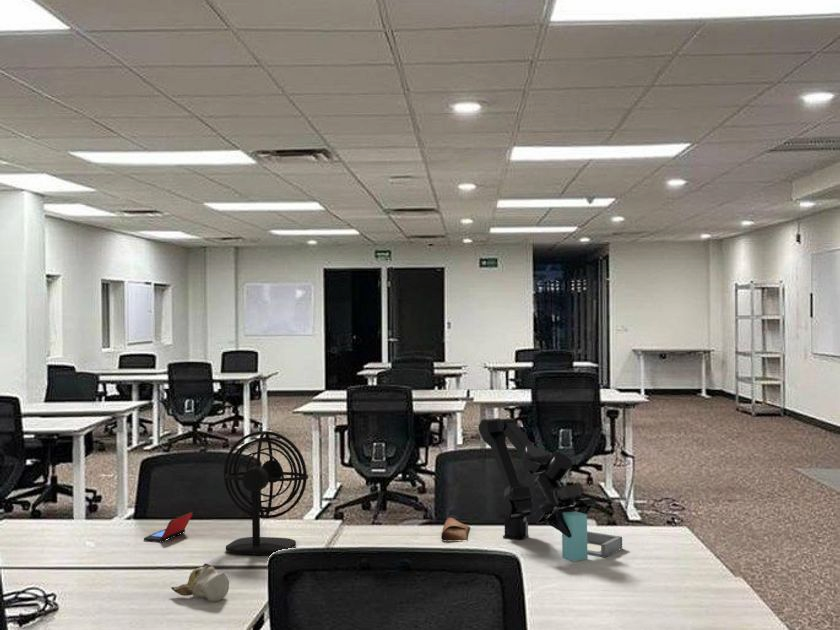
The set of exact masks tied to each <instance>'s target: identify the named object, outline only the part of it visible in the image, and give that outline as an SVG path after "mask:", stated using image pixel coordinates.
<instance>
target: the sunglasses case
mask: <svg viewBox="0 0 840 630" xmlns="http://www.w3.org/2000/svg"><path fill="white" fill-rule="evenodd" d="M443 525H444V526H443V528H442V531H441V536H440V537H441V540H442V541H443V540H467V541H468V534H469V531H470V529H471V527H470V526H469V525H467V524H464V523H462V522H460V521H458V520H457V519H455V518H453V517H447V519H446V520H445V522H444V524H443Z"/></svg>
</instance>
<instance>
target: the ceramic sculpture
mask: <svg viewBox="0 0 840 630" xmlns="http://www.w3.org/2000/svg"><path fill="white" fill-rule="evenodd" d="M171 590H172V591H174V593H176V594H178V595H180V596H183V597H184V596H186V597H187V596H194V597H197V598H202V599H204V598H206V599H207V600H208V601H209V602H219V601H221V600H222V599H224V598H225V597H226V596H227V594H228V593H229V590H230V580H229V578H228V575H227V573H225V572H221V573H218V572H217V570H216V568H215V567H214V566H213V565H211V564H209V563H204V564H203V565H202V567H197V568H196V569H193V570H192V571H191V572H190V574H189V576H188V580H187V583H185V584H184V583H183V584H180V585H179V586H172V587H171Z"/></svg>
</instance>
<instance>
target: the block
mask: <svg viewBox="0 0 840 630" xmlns="http://www.w3.org/2000/svg"><path fill="white" fill-rule="evenodd" d="M563 519H564V521H565V523H566V525H567V527H568V529H569V530H570V533H571V535H572V536H571V537H570V538H568V537H567V536H566V535H564V534H563V533H561V539H562V540H561V547H562V548H561V549H562V550H561V551H562V552H561V553H562V558H564V559H566V560H568V561H569V560H570V561H572V562H578V561H582V560H588V556H589V554H588V551H587V531H588V514H583V513H580V512H576V511H574V512H567V513H563Z"/></svg>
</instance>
